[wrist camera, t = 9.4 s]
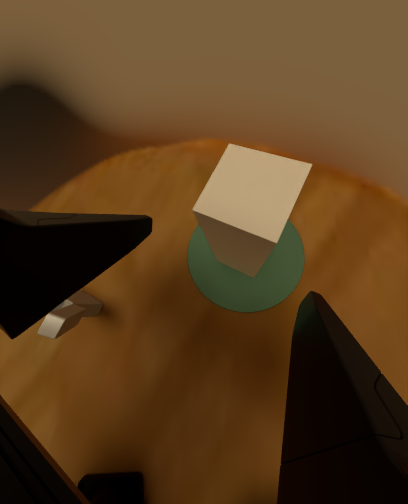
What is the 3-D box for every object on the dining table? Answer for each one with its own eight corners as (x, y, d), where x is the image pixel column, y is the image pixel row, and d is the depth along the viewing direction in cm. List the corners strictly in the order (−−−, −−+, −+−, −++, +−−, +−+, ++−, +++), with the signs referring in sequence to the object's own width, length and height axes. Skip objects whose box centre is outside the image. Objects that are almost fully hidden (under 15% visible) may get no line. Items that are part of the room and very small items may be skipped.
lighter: (73, 302, 23) (-8, 302, 15) (80, 290, 23) (4, 284, 16) (115, 327, 21) (45, 342, 13) (122, 313, 21) (58, 320, 14)
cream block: (253, 278, 19) (276, 243, 8) (217, 261, 20) (192, 209, 9) (269, 242, 20) (312, 164, 8) (233, 228, 21) (229, 143, 10)
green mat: (197, 321, 19) (196, 321, 19) (182, 217, 23) (181, 216, 23) (321, 300, 18) (323, 300, 17) (282, 192, 22) (283, 190, 21)
